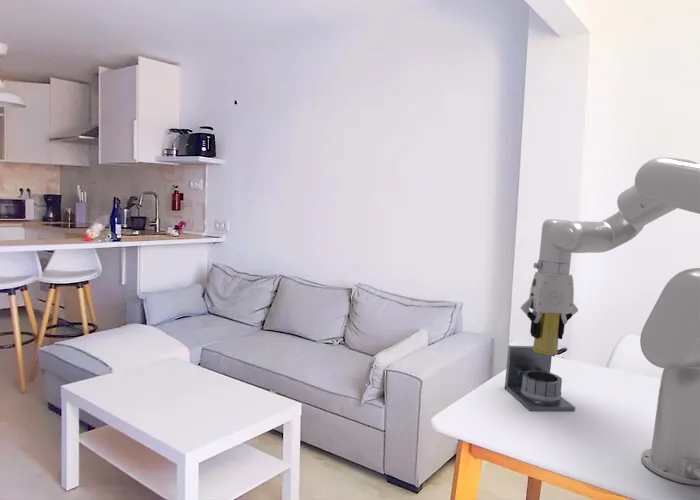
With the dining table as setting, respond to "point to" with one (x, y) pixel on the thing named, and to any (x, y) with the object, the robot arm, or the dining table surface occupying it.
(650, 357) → the robot arm
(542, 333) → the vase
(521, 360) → the cup bracket
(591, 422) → the dining table surface
